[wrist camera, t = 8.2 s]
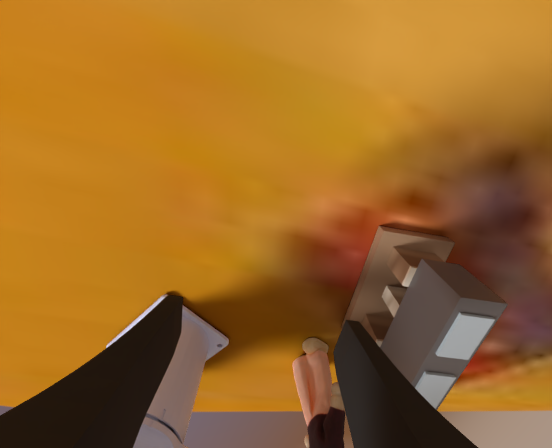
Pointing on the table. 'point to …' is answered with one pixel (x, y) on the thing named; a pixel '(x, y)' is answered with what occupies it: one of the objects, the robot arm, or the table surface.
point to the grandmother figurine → (319, 397)
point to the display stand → (391, 276)
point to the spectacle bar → (440, 327)
